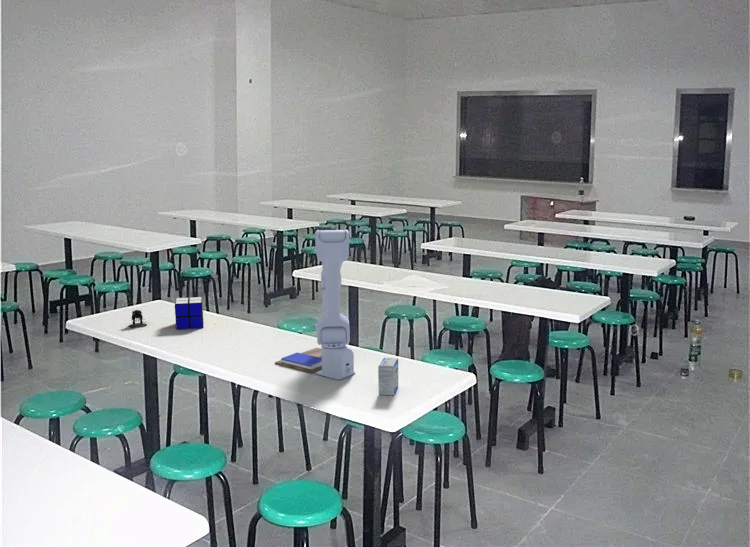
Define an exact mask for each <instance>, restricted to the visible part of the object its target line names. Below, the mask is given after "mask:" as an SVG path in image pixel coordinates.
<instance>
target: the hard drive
mask: <svg viewBox="0 0 750 547" xmlns="http://www.w3.org/2000/svg"><path fill="white" fill-rule="evenodd" d="M302 353H303V352H295V353H292V354H289V355H287V356H283V357H281V359H280V360H281V362H282V363H286V364H290V365H294V366H298V367H303V368H307V369H311V370H312V369H315V368H317V367H320V366H322V358H320V357H315V356H311V355H307V354H302Z"/></svg>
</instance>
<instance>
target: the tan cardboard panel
mask: <svg viewBox="0 0 750 547" xmlns="http://www.w3.org/2000/svg"><path fill="white" fill-rule="evenodd" d="M301 353H302V354H307V355H311V356H315V357H320V358H322V347H321V348H320V347H315V348H312V349H311V348H310V349H308V350H306V351H303V352H301ZM274 364H275V365H279V366H282V367H286V368H290V369H293V370H294V369H295V370H297V371H301V372H305V373H309V374H316V372H318V371H321V370H322V366H320V367H317V368H315V369H312V370H311V369H307V368H303V367H298V366H294V365H290V364H286V363H282V362H281V359H280V360H277V361H275V362H274Z"/></svg>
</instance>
